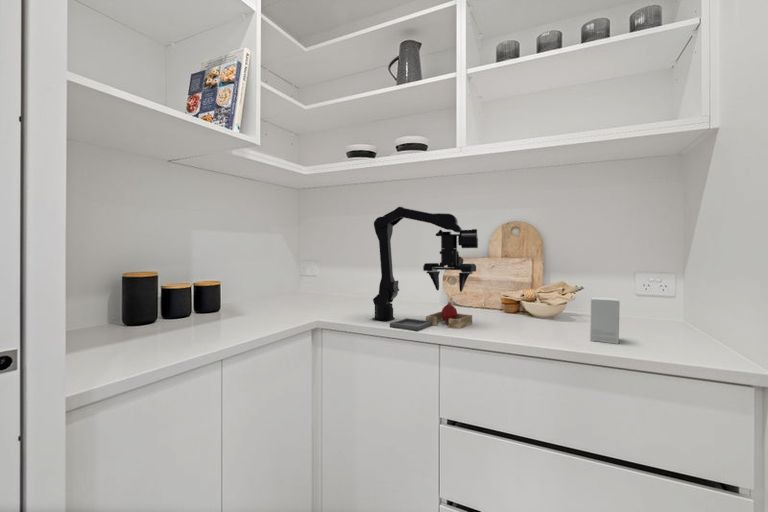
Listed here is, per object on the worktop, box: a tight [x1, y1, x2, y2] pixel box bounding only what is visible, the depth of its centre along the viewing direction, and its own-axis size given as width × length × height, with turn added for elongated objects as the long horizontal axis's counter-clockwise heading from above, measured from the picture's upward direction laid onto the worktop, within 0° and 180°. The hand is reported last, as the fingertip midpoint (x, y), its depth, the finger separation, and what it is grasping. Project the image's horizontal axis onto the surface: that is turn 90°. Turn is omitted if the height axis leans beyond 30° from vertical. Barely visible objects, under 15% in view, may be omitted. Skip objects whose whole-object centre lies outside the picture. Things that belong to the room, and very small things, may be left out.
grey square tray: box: [389, 317, 434, 332], centre depth 129 cm, size 11×11×2 cm
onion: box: [440, 301, 458, 325], centre depth 134 cm, size 6×6×8 cm
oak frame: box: [425, 311, 473, 330], centre depth 134 cm, size 13×12×3 cm
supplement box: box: [589, 296, 620, 345], centre depth 110 cm, size 7×7×13 cm
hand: (449, 291), depth 134 cm, fingers open, 9 cm apart
